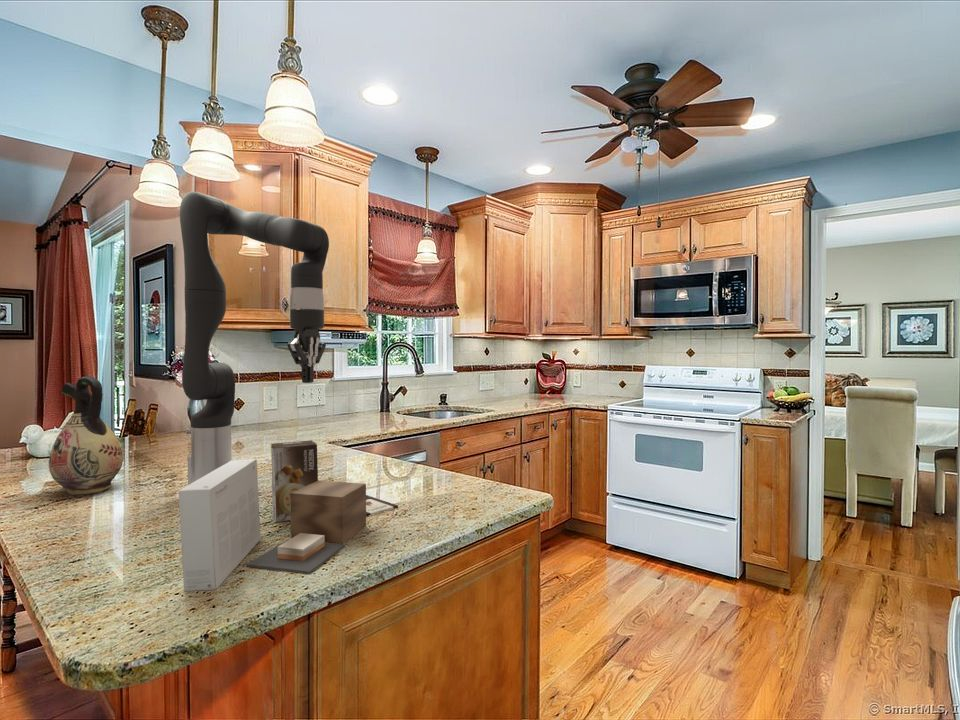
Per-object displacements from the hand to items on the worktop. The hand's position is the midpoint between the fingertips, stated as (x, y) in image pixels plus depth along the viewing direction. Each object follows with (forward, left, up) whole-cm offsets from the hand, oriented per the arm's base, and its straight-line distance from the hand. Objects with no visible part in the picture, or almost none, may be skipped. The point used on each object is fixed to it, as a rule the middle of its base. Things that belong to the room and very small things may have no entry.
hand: (307, 382), depth 122 cm
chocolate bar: (+11, +4, -30) cm, 32 cm away
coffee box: (+1, -7, -29) cm, 30 cm away
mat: (+15, -27, -29) cm, 42 cm away
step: (+14, -15, -29) cm, 36 cm away
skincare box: (+4, -33, -29) cm, 44 cm away
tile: (+15, -26, -27) cm, 40 cm away
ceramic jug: (-62, -2, -29) cm, 69 cm away
